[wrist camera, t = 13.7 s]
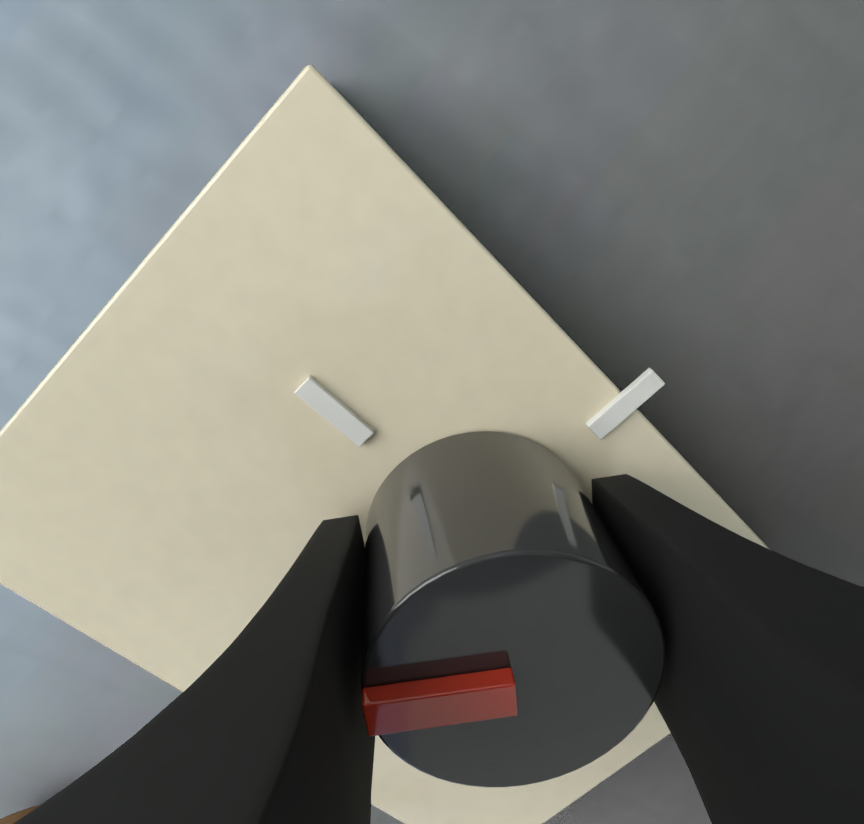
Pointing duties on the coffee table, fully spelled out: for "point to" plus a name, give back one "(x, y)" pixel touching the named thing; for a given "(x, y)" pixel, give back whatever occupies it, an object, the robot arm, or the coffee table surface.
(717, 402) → the coffee table surface
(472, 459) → the knob
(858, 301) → the coffee table surface
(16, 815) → the egg
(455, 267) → the cream dial panel
